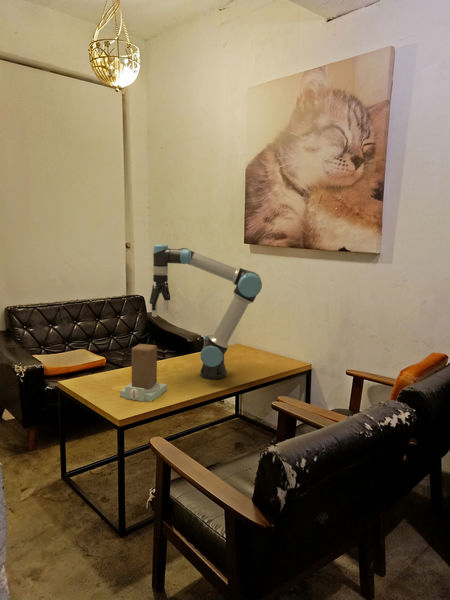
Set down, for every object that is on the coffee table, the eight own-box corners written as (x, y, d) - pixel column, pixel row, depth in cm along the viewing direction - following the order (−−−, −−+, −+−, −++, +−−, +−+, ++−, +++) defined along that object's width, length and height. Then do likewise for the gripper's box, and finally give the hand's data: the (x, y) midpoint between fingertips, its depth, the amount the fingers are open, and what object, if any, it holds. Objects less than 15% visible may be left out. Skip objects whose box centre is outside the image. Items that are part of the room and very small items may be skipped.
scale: (166, 390, 233) (166, 378, 232) (149, 402, 215) (149, 390, 214) (136, 385, 238) (136, 374, 237) (118, 397, 220) (118, 386, 219)
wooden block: (150, 389, 221) (150, 349, 218) (130, 387, 223) (130, 348, 220) (157, 383, 231) (157, 344, 228) (138, 381, 233) (138, 343, 230)
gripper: (164, 272, 251) (163, 309, 254) (142, 276, 227) (142, 317, 230) (176, 272, 248) (176, 311, 252) (156, 276, 225) (156, 319, 228)
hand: (160, 314), depth 241 cm, fingers open, 13 cm apart
